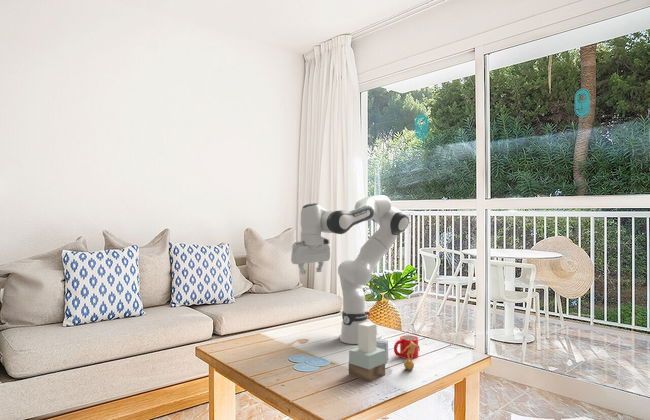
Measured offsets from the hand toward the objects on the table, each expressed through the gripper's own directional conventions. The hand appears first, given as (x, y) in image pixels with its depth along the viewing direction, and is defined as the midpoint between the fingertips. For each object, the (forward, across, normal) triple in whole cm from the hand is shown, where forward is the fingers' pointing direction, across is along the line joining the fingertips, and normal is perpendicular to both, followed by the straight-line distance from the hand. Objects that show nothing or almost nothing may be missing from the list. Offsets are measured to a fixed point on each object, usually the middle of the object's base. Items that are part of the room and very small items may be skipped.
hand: (311, 273), depth 183 cm
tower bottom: (+37, +2, -28) cm, 47 cm away
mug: (+37, +31, -27) cm, 55 cm away
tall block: (+27, +2, -29) cm, 40 cm away
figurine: (+37, +18, -38) cm, 56 cm away
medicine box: (+37, +18, -22) cm, 47 cm away
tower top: (+32, +2, -29) cm, 43 cm away
